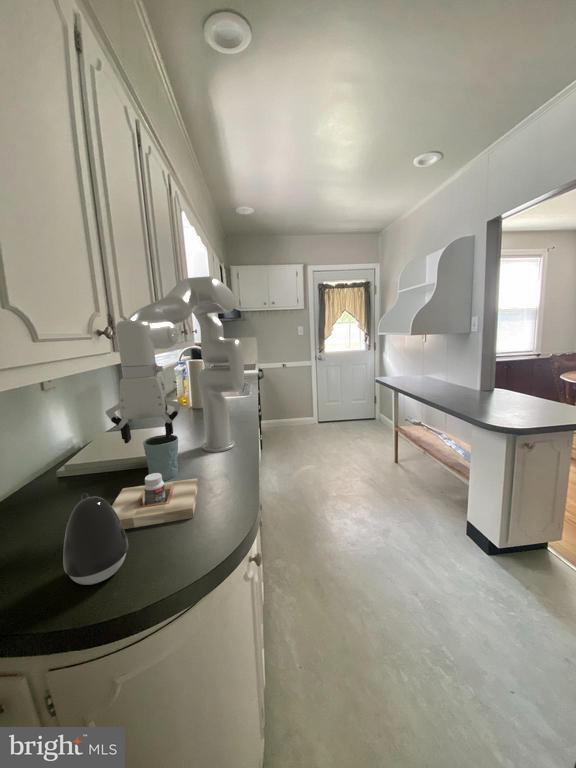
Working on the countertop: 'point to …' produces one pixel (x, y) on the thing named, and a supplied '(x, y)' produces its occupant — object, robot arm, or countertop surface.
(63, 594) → the countertop surface
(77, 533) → the dark rounded oval
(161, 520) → the socket plate
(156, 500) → the pill bottle
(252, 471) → the countertop surface
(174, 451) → the blue green cup
